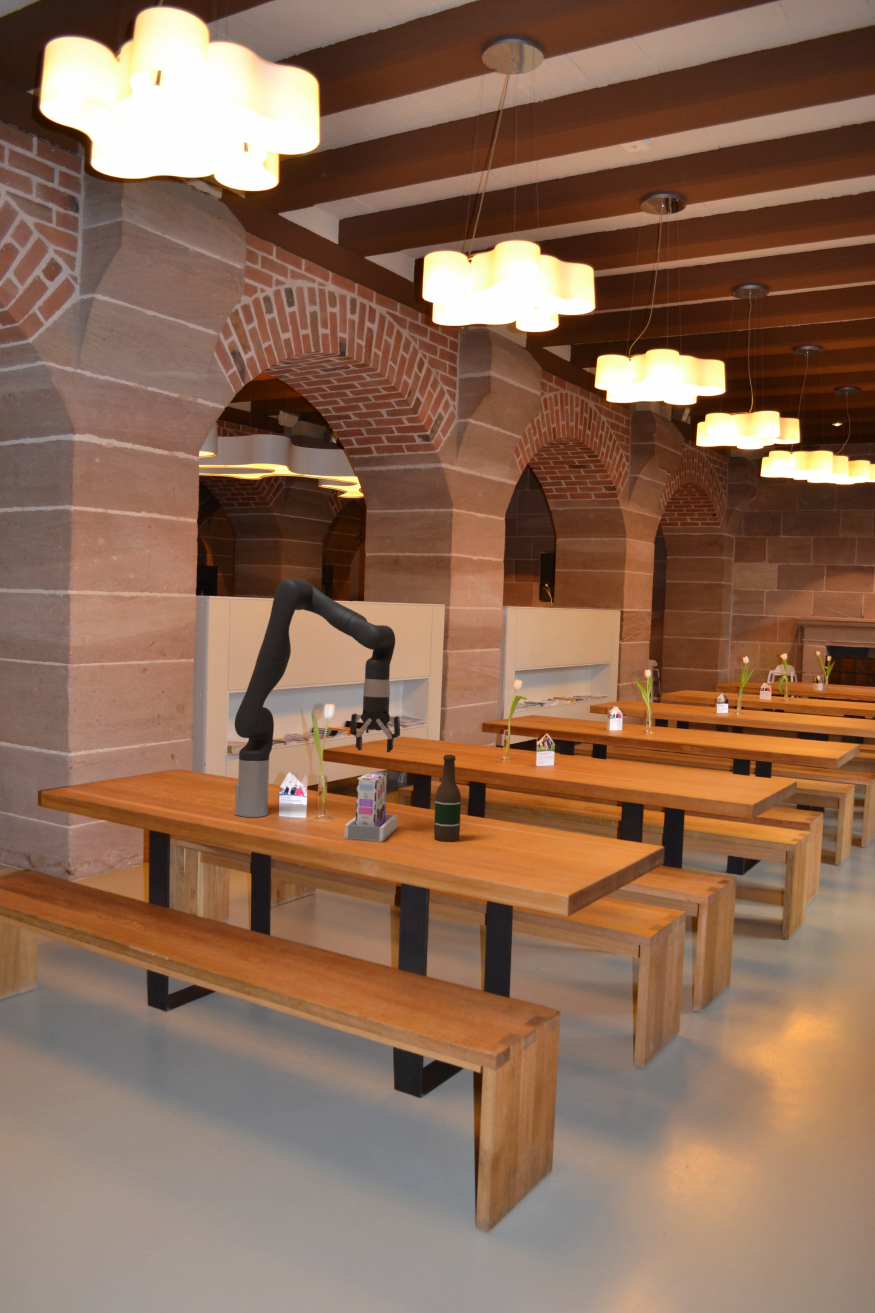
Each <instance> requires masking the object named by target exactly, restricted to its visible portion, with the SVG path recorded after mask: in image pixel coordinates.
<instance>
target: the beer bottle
mask: <svg viewBox="0 0 875 1313" xmlns="http://www.w3.org/2000/svg"><path fill="white" fill-rule="evenodd" d="M456 760H457V759H456V755H453V754H444V755H443V769H442V770H443V771H442V780H441V782H440V785H439V786H438V787H437V790H436V792H435V799H434V820H433V821H434V824H433V826H434V827H433V834H434V835H433V837H434V840H435V841H439V842H442V843H443V842H446V843H453V842H457V841H459V840H460V833H461V832H460V831H461V808H462V807H461V805H462V804H461V803H462V802H461V800H462V798H461V792H460V788H459V787H458V785H457V783H456V773H455V772H456V763H455V761H456Z"/></svg>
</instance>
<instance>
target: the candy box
mask: <svg viewBox="0 0 875 1313" xmlns="http://www.w3.org/2000/svg"><path fill="white" fill-rule="evenodd" d="M387 775H388V774H387V772H381V771H379V772H378V771H367V772H366V773H365V774H363V775H361V776H359V777H357V778H356V779H357V780H356V781H357V782H356V801H355V804H356V805H355V817H356V824H355V825H362V826H376V827H381V826H382V825H383V824H384V823H385V815H386V814H387V812H386V811H387V810H386V807H387V806H386V805H387V779H388V778H387Z"/></svg>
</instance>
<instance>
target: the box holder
mask: <svg viewBox="0 0 875 1313" xmlns="http://www.w3.org/2000/svg"><path fill="white" fill-rule="evenodd" d="M355 824H356V816H354V817H353V818H352V819H350V821H348V822H346V823H345V825H344V836H343V837H344V838H343V839H344V840H349V841H350V840H351V841H363V842H379V843H384V842H385V840H386V839H388V838H389V836H390V835H392V833H393V832H395V831H396V830H397V827H398V814H390V813H389V814H388V813H386V815H385V823H384V824H383V825H382V826H381V827H376V826H362V825H355Z"/></svg>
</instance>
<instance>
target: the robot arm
mask: <svg viewBox="0 0 875 1313" xmlns="http://www.w3.org/2000/svg"><path fill="white" fill-rule="evenodd" d="M274 592H275V593H274V595H273V601H272V605H271V611H270V616H269V620H268V624H267V627H266V630H265V633H264V636H263V640H262V643H261V645H260V648H259V651H258V654H257V658H256V662H255V665H254V668H253V670H252V674H251V677H250V680H249V681H248V682H249V683H248V686H247V689H246V692H245V694H244V695H243V699H242V700H241V703H240V705H239V707H238V709H237V712H236V714H235V719H234V729H235V732H236V734H237V735H238V736H239V737H241V738H243V739H248V740H247V742H246V744H245V745H244V746H243V747H242V748H241V749H240V750H239V752H238V778H237V783H236V784H235V795H234V796H235V797H234V798H235V800H234V815H235V816H239V817H244V818H246V817H247V818H261V817H266V816H268V810H269V779H270V754H271V752H272V750H273V741H274V731H275V730H274V728H275V721H274V720H275V719H274V716H273V713H272V711H271V710H270V709H269V708H267V707H264V704H265V702H266V700H267V698H268V696H269V695H270V693H271V692H272V691H273V690H274V689H275V687H277V685H278V683H279V682H280V681H281V680H282V678H284V675H285V672H286V671H287V667H288V665H289V660H290V658H291V652H292V651H291V650H292V648H291V640H290V625H291V622H292V620H293V616H294V614H295V611H307V612H311V613H314V614H316V615H318V616H320V617H322V618H323V619H324V620H325V621H326V622H328V624H329V625H330V626H332V627H333V628H335V629H336V630H338V631H339V632H341V633H343V634H344V635H347V636H348V637H350V638H353V639H354V641H356V642H357V643H358V644H360V645H361V646H363V647H364V648H367V649H368V650H372V654H371V655H372V656H371V657H370V658H368V659H367V660H366V662H365V667H364V668H365V670H364V672H365V673H364V683H363V691H362V692H363V693H362V696H363V697H362V713H361V714H358V713H353V714H351V718H350V729H349V734H350V735H352V736H354V737H355V747H356V749H357V751H362V750H363V734H364V733H365V732H366V731H367V730H368V731H374V730H375V731H379V732H380V731H383V734H384V735H385V736H386V737H387V740H386V753H391V751H393V748H394V739H396V738H398V737H400V736H401V717H400V716H399V715H397V716H391V715H390V696H391V686H390V685H391V684H390V676H391V674H390V671H391V669H390V668H391V666H390V665H391V661H392V658H393V655H394V650H395V647H396V636H395V635H396V634H395V632H394V630H393V629H392V628H391V627H390V626H388V625H382V624H381V625H380V624H379V625H378V624H373V623H370V622H369V621H368V620H367V618H366V617H365V616H364V615H362V614H360V613H358V612H356V611H355V610H353V609H351V608H348V607H347V606H345V605H343V604H341V603H339V602H337V601H335V600H333V599H332V598H330V597H329V596H327V594H325V593H323V592H321V590H319V589H318V588H317V587H315V585H313V584H312V583H310V582H309V581H307V580H304V579H296V578H285V579H283V580H281V581H280V582H279V584H278V585H277V587H276V589H275V591H274ZM360 719H361V721H362V723H363V725H362V726H361V727H360V729H359V730H357V724H358V722H359V721H360ZM390 721H391V723H392V724H393V732H392V731H391V728H390V726H389V725H388V723H389V722H390Z"/></svg>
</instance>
